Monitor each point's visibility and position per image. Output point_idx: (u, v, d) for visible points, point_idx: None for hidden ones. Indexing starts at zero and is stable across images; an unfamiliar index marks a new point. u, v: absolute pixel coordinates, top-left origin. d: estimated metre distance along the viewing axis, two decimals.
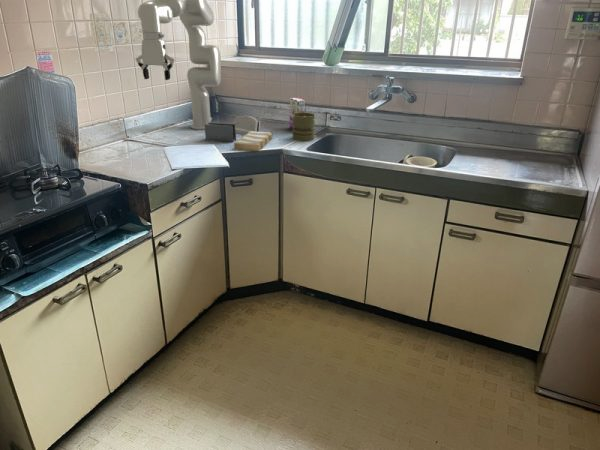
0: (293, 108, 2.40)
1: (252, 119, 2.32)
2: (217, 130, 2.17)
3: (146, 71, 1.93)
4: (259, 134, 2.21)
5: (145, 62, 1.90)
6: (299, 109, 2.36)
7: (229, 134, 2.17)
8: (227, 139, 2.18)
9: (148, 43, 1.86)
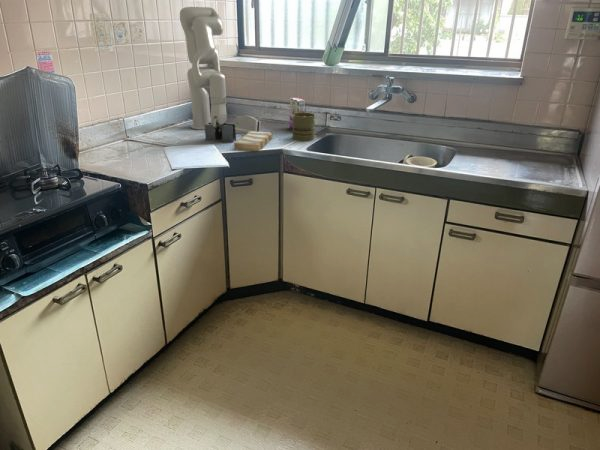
0: (293, 108, 2.40)
1: (252, 119, 2.32)
2: None
3: None
4: (259, 134, 2.21)
5: (221, 123, 2.15)
6: (299, 109, 2.36)
7: (229, 134, 2.17)
8: (227, 139, 2.18)
9: (223, 106, 2.14)
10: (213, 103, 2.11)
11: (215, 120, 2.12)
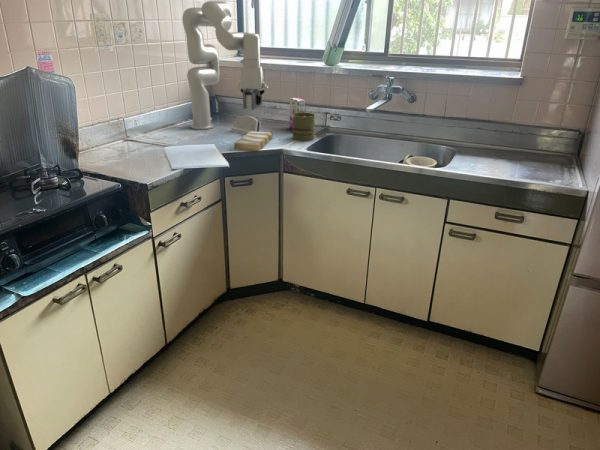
0: (293, 108, 2.40)
1: (252, 119, 2.32)
2: (257, 94, 2.06)
3: None
4: (259, 134, 2.21)
5: None
6: (299, 109, 2.36)
7: (261, 96, 2.12)
8: None
9: None
10: (258, 65, 2.00)
11: (264, 83, 2.04)
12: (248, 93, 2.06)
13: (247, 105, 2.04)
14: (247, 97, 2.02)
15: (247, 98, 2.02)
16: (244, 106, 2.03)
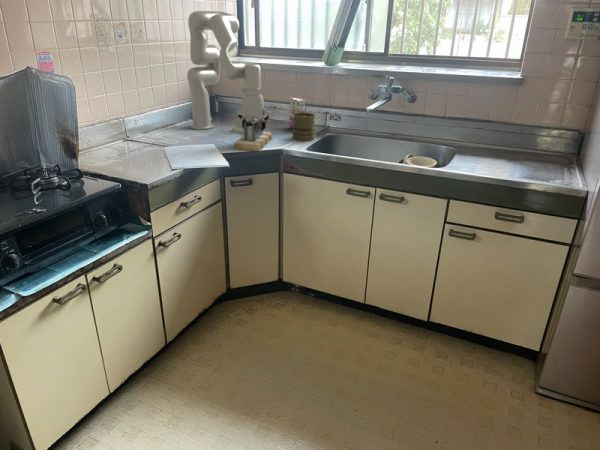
0: (293, 108, 2.40)
1: None
2: (258, 126, 2.13)
3: None
4: None
5: None
6: (299, 109, 2.36)
7: (261, 126, 2.19)
8: (261, 132, 2.19)
9: None
10: (259, 94, 2.05)
11: (265, 109, 2.09)
12: (249, 124, 2.12)
13: (248, 136, 2.10)
14: (248, 129, 2.08)
15: (248, 130, 2.09)
16: (245, 137, 2.09)
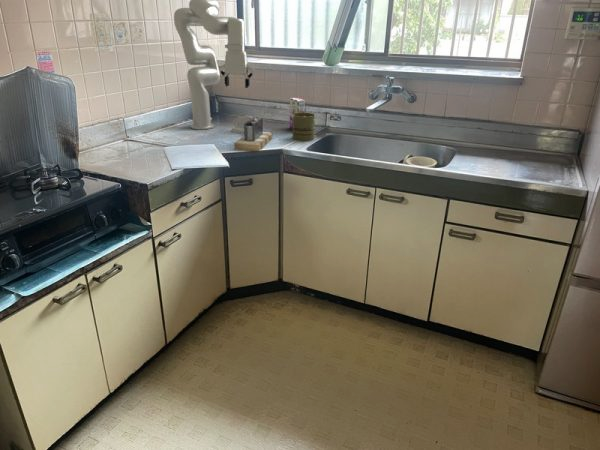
0: (293, 108, 2.40)
1: None
2: (258, 126, 2.13)
3: None
4: None
5: None
6: (299, 109, 2.36)
7: (261, 126, 2.19)
8: (261, 132, 2.19)
9: None
10: (242, 50, 2.02)
11: (249, 66, 2.06)
12: (249, 124, 2.12)
13: (248, 136, 2.10)
14: (248, 129, 2.08)
15: (248, 130, 2.09)
16: (245, 137, 2.09)
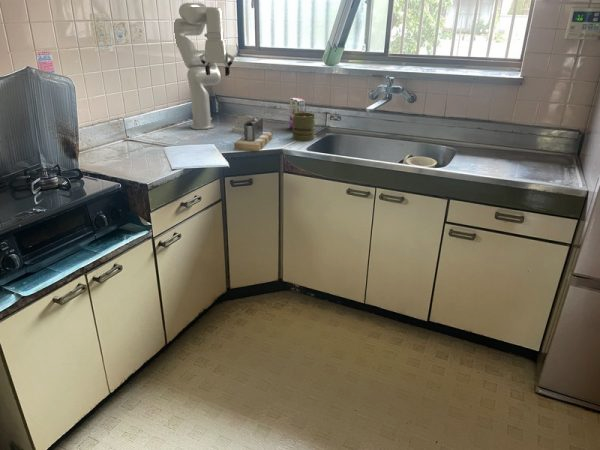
0: (293, 108, 2.40)
1: None
2: (258, 126, 2.13)
3: None
4: None
5: None
6: (299, 109, 2.36)
7: (261, 126, 2.19)
8: (261, 132, 2.19)
9: None
10: (221, 39, 2.06)
11: (228, 54, 2.10)
12: (249, 124, 2.12)
13: (248, 136, 2.10)
14: (248, 129, 2.08)
15: (248, 130, 2.09)
16: (245, 137, 2.09)
